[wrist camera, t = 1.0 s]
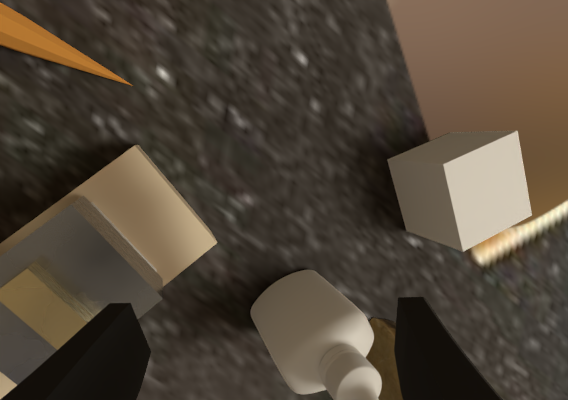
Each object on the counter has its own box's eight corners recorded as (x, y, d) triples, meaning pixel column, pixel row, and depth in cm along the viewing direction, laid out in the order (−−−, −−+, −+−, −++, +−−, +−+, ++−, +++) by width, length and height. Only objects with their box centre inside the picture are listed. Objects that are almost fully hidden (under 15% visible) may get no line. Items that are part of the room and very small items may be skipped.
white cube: (449, 132, 29) (517, 130, 24) (464, 201, 31) (532, 215, 25) (385, 159, 28) (443, 164, 22) (405, 230, 30) (463, 252, 24)
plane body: (-65, 452, 22) (-103, 504, 18) (-180, 377, 19) (-245, 422, 16) (210, 230, 25) (217, 244, 21) (138, 144, 22) (134, 145, 19)
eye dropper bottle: (321, 321, 28) (427, 442, 17) (248, 332, 27) (312, 473, 15) (323, 266, 28) (434, 353, 16) (248, 273, 26) (316, 375, 15)
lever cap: (54, 366, 20) (30, 416, 16) (-41, 286, 18) (-92, 323, 14) (162, 278, 21) (162, 307, 17) (83, 195, 19) (65, 208, 15)
